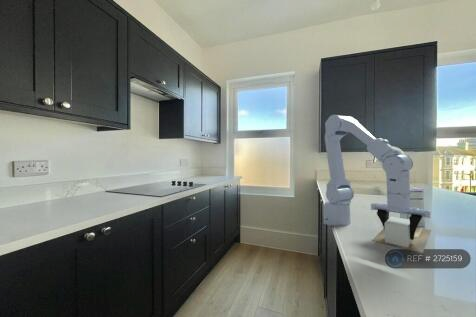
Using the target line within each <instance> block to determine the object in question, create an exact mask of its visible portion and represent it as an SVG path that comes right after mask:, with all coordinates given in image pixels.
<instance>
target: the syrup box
mask: <svg viewBox="0 0 476 317" xmlns="http://www.w3.org/2000/svg"><path fill="white" fill-rule="evenodd" d="M424 194H425V193H424V189H421V188H419V187H415V186H412V187H411V186H410V207H414V208H420V209H425V195H424ZM399 214H400V217H399V218H403V219H409V217H410V216H411V215H409V214H402V213H399ZM417 227H418V228H423V227H424V228H425V227H426V217H422V219H421V220H420V222H419V224H418V226H417Z"/></svg>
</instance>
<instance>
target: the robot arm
mask: <svg viewBox="0 0 476 317" xmlns="http://www.w3.org/2000/svg"><path fill="white" fill-rule="evenodd" d="M324 125H325V126H324V127H325V133H324V144H325V150H326V158H327V164H328V171H329V177H330V178H329V181H328V182H327V183H326V190H325V197H326V200H327V201H325V202H324V204H323V222H322V223H323V224H324V225H327V226H332V227H335V226H337V225H338V226H349V225H351V203H352V200H353V198H354V196H355V193H354V189H353V187H352V186H351V182H350V181H349V180H348V179H346V174H345V167H344V161H343V154H342V149H341V140H342V138H343V137H345V136H346V135H347V134H349V133H350V134H352V135H353V136H355V137H356V138H357V139H359V140H360V141H361V142H362V143H363V144H365V145H366V150H367V152H368V153H370V154H371V155H372V156H373V157H374V158H375V159H377V161H378V162H380V163H381V168H382V169H383V171H384V173H385V177H386V203H375V202H372V203H370V210H371V211H372V210H373V211H377V212H376V215H377V216H378V219H379V220H380V222H381V224H382V227H383V229H384V230H385V222H386V221H387V220H388V219H389V218H390V213H395V214H400V213H402V214H409V215H411V216H410V217H409V219H410V239H411V240H413V239H414V235H415V231H416V228H418V227H419V226H418V224H419V222H420V220H421V219H422V217H425V219H431V216H432V215H431V209H425V208H424V209H420V208H414V207H410V187H411V181H410V170H412V169H413V167H414V161H413V159H412V158H411V156H410V155H408V154H405V153H401V151H400V150H399V149H396V148H394V147H393V146H392V145H391V144H390V143H389V140H388V139H386V138H381V137H379V138H376V137H375V136H373V134H372V133H370V131H368V130H367V129H366V128H365V127H364V126H363V125H362V124H361V123H360V122H359V121H358V120H357V119H356V118H354V117H353V116H349V115H347V116H346V115H339V114H332V115H330V116H329V117H328V119H326V121H325V123H324Z"/></svg>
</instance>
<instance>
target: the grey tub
mask: <svg viewBox="0 0 476 317" xmlns="http://www.w3.org/2000/svg"><path fill="white" fill-rule="evenodd" d="M385 242H386V243H390V244H395V245H399V246H403V247H407V248H409V246H410V244H411V242H412V240H411V239H410V219H403V218H400V217H397V216H389V219H388V220H387V221H386V222H385Z"/></svg>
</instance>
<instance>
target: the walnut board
mask: <svg viewBox="0 0 476 317" xmlns="http://www.w3.org/2000/svg"><path fill="white" fill-rule="evenodd" d="M431 231H432V230H431V229H427V228H423V227H417V228H416V231H415V235H414V239H413V240H412V242H411V244H410V246H409V248H407V247H403V246H399V245H395V244H390V243H386V242H385V230H384V228H382V229H381V230H380V232H379V233H378V234H377V235H376V236H375V237H374V238H373V239H372V240H371V242H374V243H378V244H384V245H387V246H392V247H395V248H399V249H403V250H407V251H411V252H412V251H413V252H415V253H420V254H424V251H425V248H426V245H427V244H428V240H429V237H430V234H431Z"/></svg>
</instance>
